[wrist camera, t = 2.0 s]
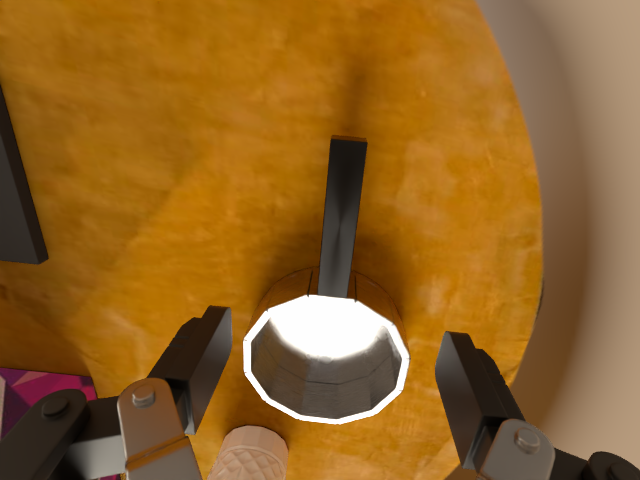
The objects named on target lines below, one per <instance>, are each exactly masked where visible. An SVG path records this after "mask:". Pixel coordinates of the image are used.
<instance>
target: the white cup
mask: <svg viewBox="0 0 640 480" xmlns="http://www.w3.org/2000/svg"><path fill="white" fill-rule="evenodd" d="M287 460H288V449H287V446H286V443H285V441H284V440H283V439H282V438H281V437H280V436H279V435H278V434H277V433H275V432H273V431H271V430H269V429H266V428H264V427H259V426H243V427H239V428H235V429H233V430H232V431H231V432H230V433H229V434H228V435H226V436H225V438H224V441H223V443H222V446H221V449H220V451H219V454H218V456H217V459H216V462H215V463H214V465H213V466H212V468H211V471H210V473H209V475H208V478H207V480H285V475H286V468H287Z"/></svg>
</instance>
